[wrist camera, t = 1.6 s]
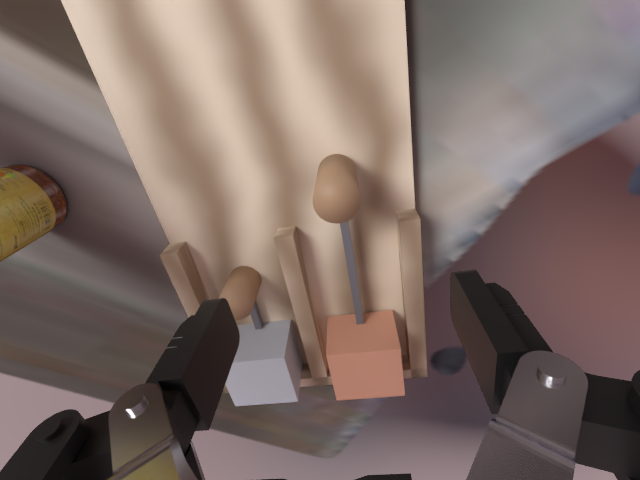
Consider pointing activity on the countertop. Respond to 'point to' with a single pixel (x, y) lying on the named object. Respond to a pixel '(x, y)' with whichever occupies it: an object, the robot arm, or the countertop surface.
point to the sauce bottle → (27, 207)
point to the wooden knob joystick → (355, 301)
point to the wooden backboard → (270, 151)
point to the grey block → (260, 348)
